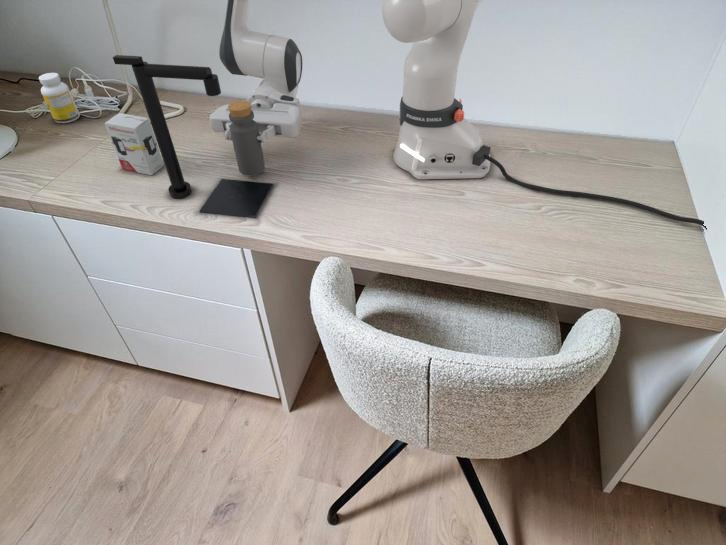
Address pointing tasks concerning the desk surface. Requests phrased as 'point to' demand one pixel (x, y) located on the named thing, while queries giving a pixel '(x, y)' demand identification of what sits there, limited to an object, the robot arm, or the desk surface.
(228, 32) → the robot arm
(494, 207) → the desk surface
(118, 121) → the ink box
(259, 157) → the bottle
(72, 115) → the pill bottle
